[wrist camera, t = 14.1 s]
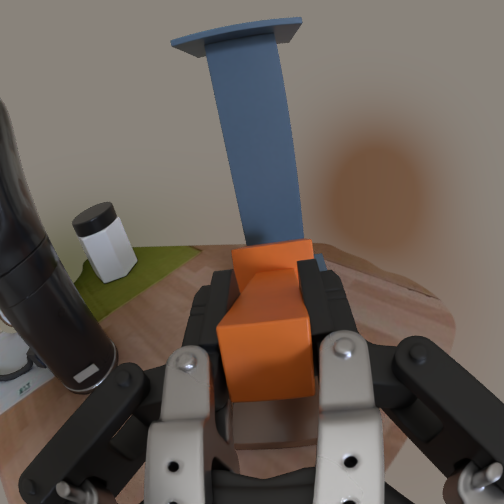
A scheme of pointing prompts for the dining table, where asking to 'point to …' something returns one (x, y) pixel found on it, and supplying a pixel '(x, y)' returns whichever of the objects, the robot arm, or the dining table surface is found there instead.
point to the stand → (255, 124)
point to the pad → (276, 423)
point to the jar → (104, 242)
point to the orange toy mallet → (268, 326)
